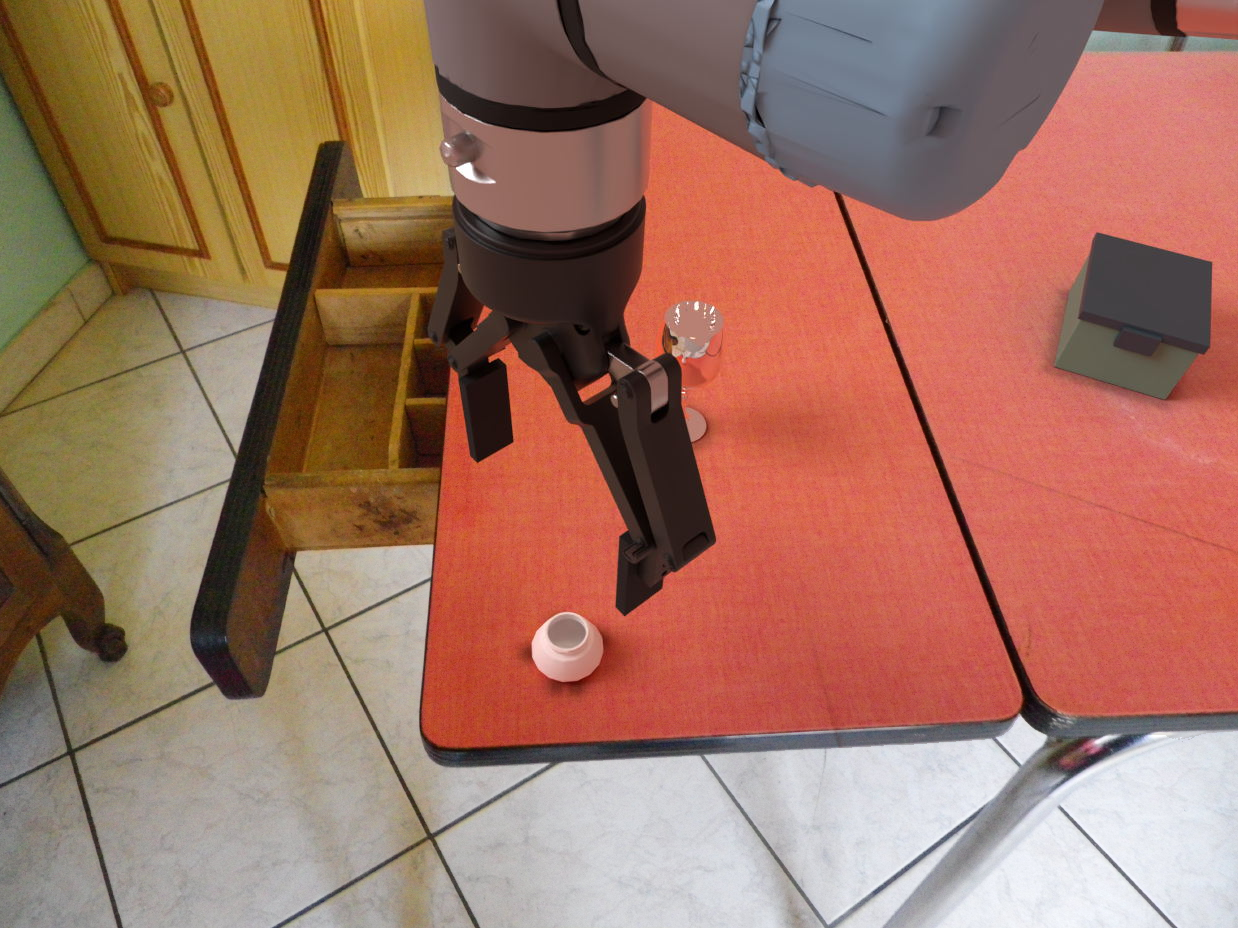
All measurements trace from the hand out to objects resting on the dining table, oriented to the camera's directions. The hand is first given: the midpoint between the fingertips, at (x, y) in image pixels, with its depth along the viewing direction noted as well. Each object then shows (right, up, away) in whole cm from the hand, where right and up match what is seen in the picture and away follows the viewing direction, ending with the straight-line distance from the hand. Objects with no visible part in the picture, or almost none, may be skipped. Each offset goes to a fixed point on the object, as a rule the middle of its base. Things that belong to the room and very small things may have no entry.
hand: (560, 518), depth 49 cm
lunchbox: (+52, +15, +35) cm, 65 cm away
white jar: (0, -10, +12) cm, 16 cm away
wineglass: (+9, +7, +27) cm, 29 cm away
